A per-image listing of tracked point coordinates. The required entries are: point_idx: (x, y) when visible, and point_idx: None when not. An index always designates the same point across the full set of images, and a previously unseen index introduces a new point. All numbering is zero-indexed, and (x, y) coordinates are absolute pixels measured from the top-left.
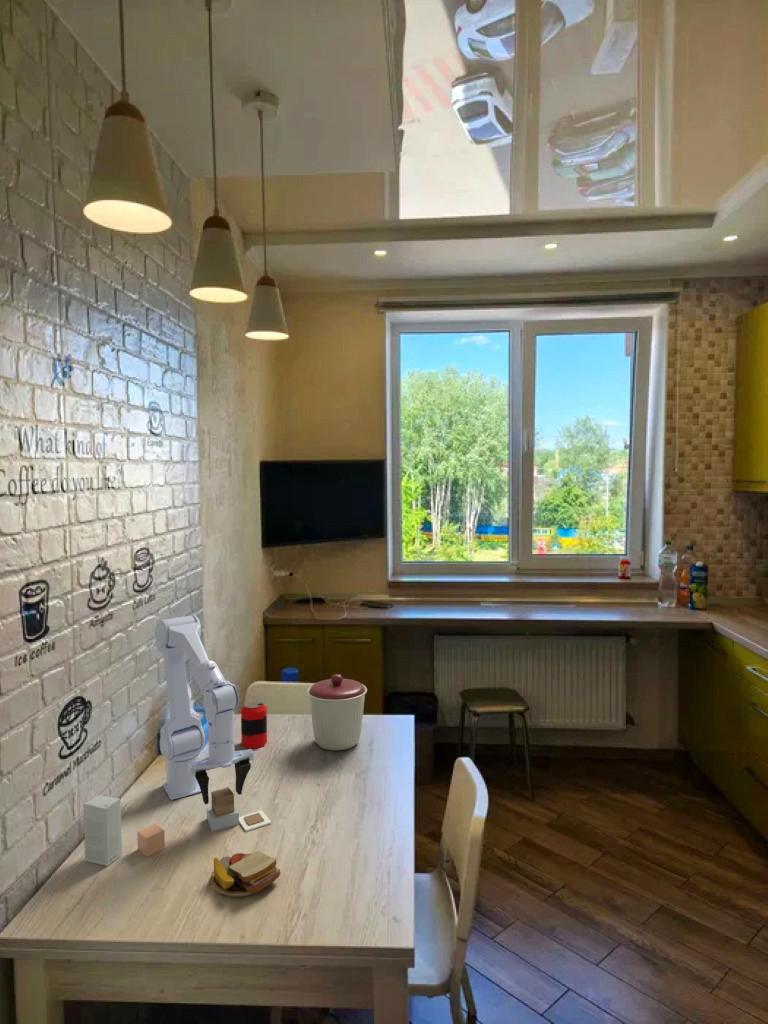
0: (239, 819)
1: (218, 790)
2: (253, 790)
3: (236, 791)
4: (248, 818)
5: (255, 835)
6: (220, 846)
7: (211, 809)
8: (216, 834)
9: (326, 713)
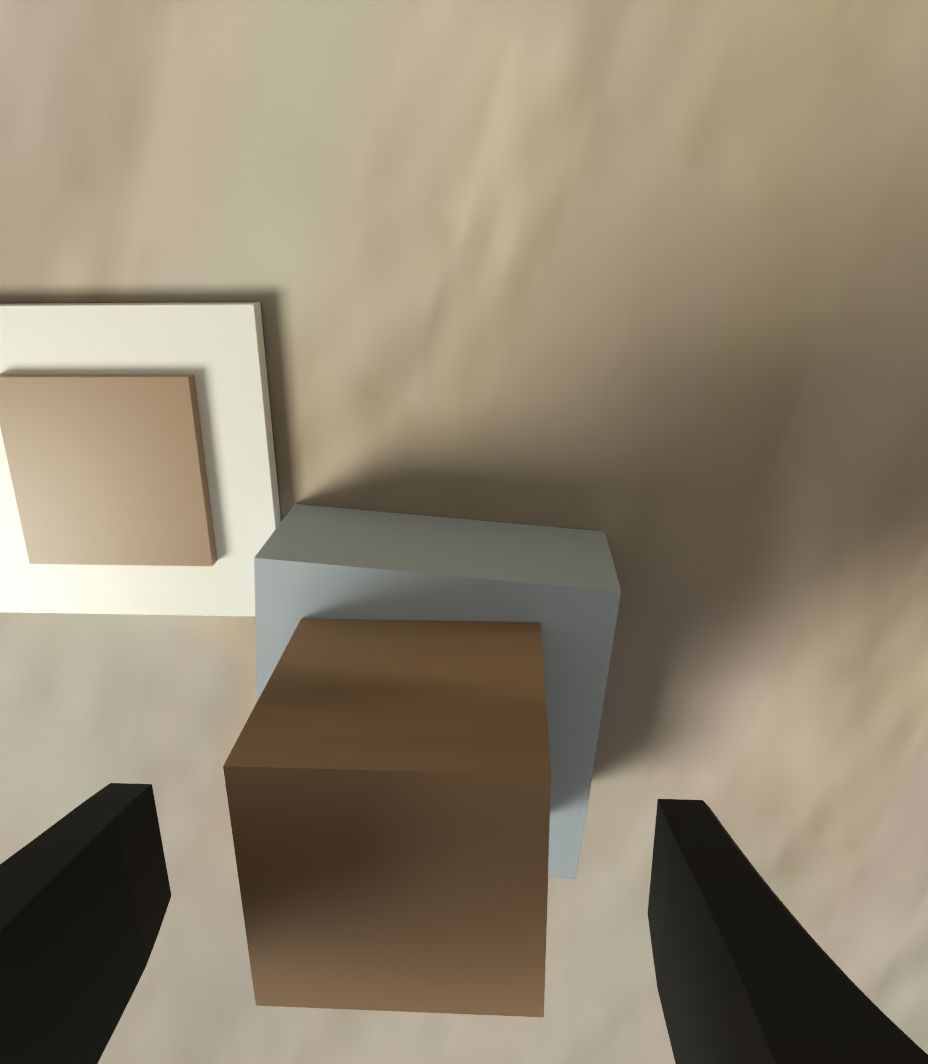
0: None
1: (429, 997)
2: None
3: (164, 880)
4: (166, 510)
5: (167, 150)
6: (630, 156)
7: None
8: (581, 448)
9: None
